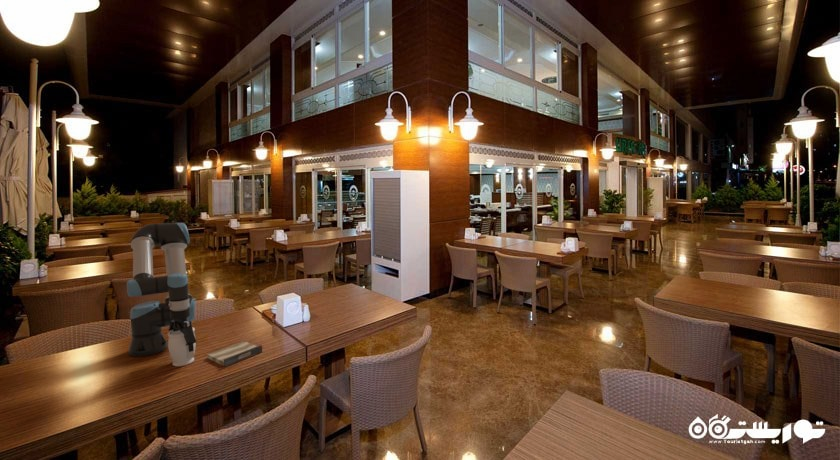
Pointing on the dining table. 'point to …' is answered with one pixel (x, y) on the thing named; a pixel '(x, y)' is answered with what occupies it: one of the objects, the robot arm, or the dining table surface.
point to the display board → (234, 353)
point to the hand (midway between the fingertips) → (183, 354)
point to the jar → (179, 348)
